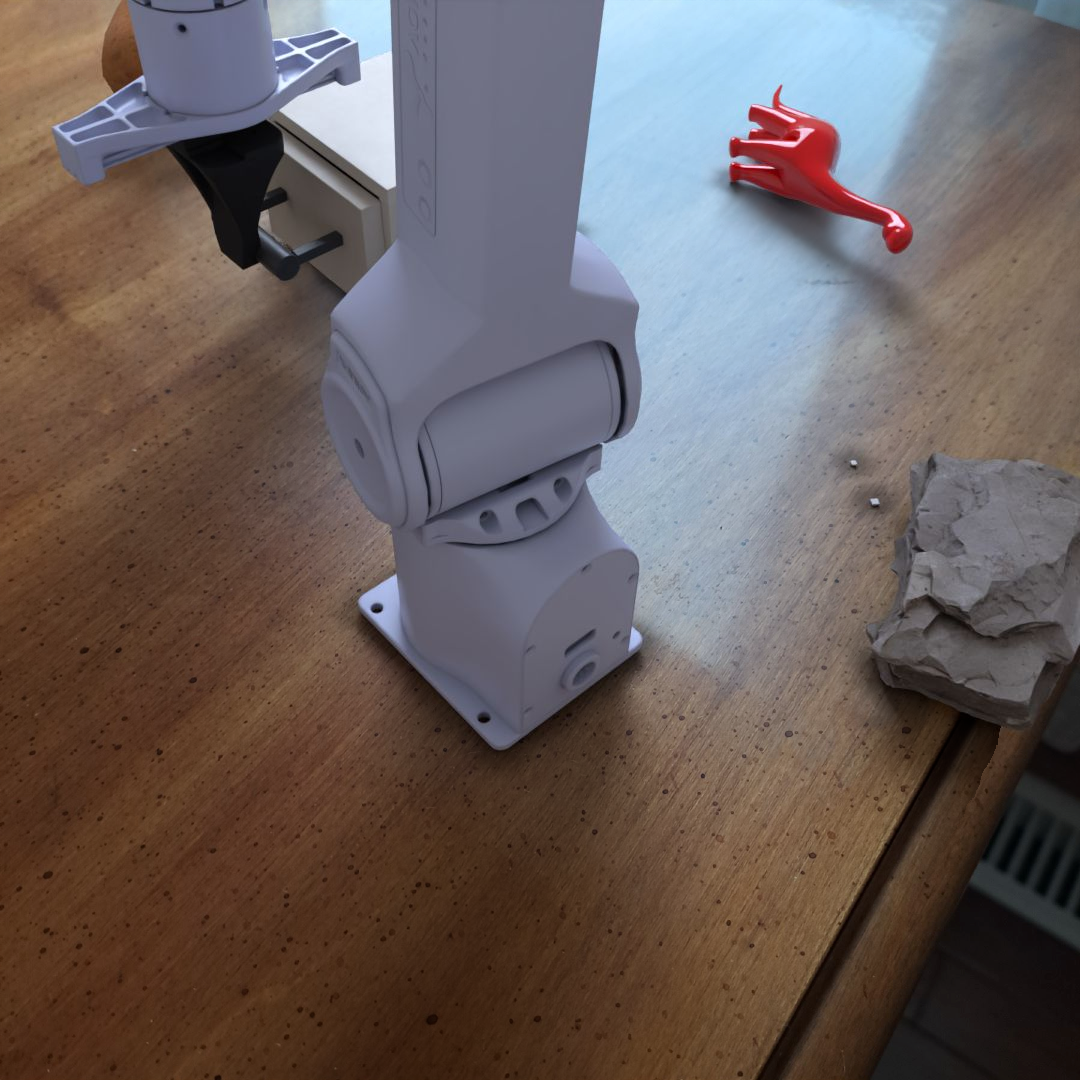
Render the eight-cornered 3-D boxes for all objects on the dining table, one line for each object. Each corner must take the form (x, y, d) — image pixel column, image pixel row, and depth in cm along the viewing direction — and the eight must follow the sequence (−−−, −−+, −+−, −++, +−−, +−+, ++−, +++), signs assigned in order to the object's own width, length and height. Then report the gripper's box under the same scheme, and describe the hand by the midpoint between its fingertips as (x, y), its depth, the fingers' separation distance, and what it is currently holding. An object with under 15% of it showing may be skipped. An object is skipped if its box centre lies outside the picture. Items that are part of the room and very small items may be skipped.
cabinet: (398, 324, 63) (387, 190, 56) (285, 232, 68) (263, 99, 61) (575, 233, 68) (582, 102, 62) (458, 154, 73) (454, 25, 67)
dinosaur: (777, 113, 78) (971, 140, 73) (688, 242, 69) (901, 282, 64) (779, 55, 75) (981, 79, 70) (687, 182, 66) (909, 219, 62)
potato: (291, 68, 79) (275, -47, 74) (223, 158, 72) (199, 38, 67) (163, 49, 81) (137, -66, 75) (83, 135, 74) (48, 16, 68)
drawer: (305, 348, 60) (288, 243, 55) (206, 260, 64) (182, 156, 59) (538, 230, 67) (541, 128, 62) (434, 158, 71) (429, 57, 66)
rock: (1080, 764, 46) (1120, 713, 43) (848, 692, 48) (870, 638, 45) (1105, 513, 54) (1140, 455, 51) (905, 460, 56) (927, 400, 53)
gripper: (285, -92, 55) (317, 171, 65) (-16, -4, 48) (72, 273, 58) (379, -40, 51) (396, 229, 62) (69, 63, 45) (147, 345, 55)
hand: (244, 255), depth 60 cm, fingers closed, pressing on drawer
